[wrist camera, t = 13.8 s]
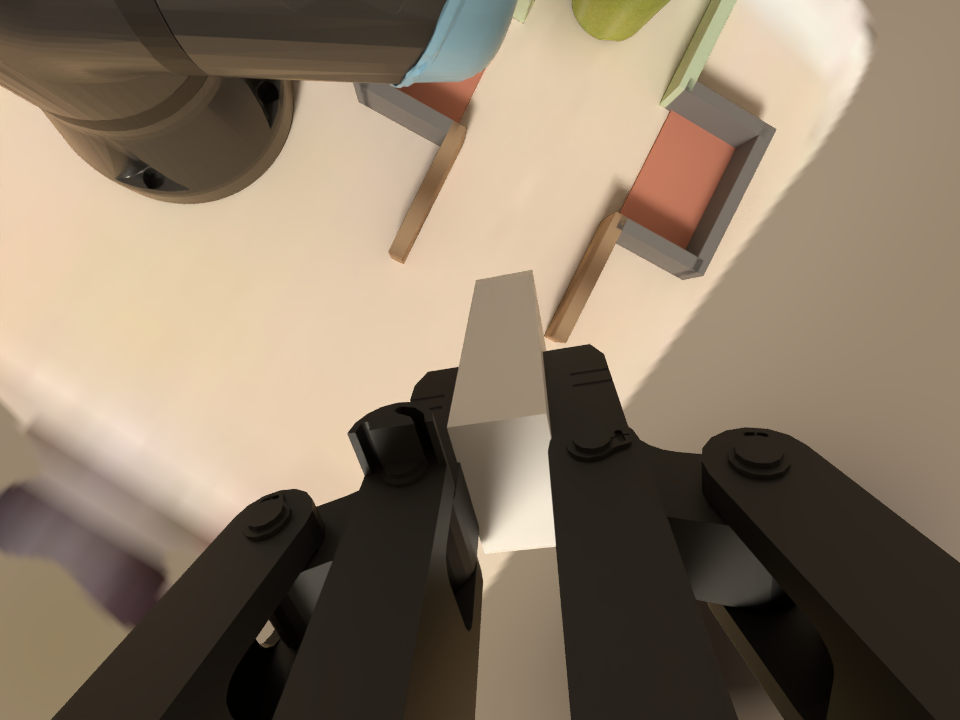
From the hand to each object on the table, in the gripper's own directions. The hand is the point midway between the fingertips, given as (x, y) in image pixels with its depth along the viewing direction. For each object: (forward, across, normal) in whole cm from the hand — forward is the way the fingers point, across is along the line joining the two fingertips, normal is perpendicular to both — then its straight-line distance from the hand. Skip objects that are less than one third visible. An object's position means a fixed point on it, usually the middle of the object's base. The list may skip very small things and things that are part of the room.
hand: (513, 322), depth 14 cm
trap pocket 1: (+30, +12, -4) cm, 32 cm away
